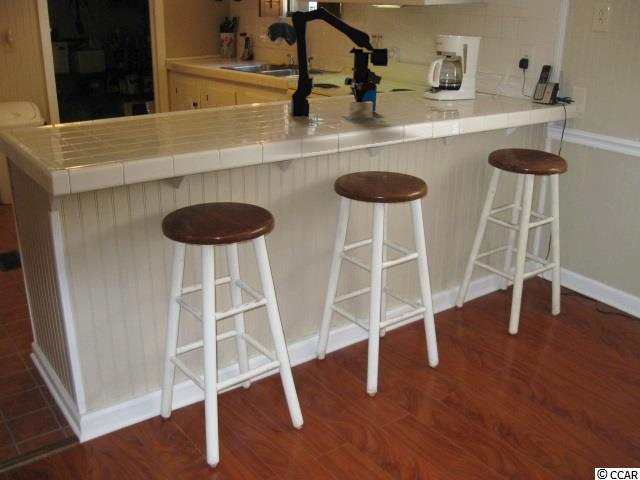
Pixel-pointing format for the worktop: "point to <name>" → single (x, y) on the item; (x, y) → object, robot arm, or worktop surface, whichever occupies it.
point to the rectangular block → (361, 109)
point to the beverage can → (370, 97)
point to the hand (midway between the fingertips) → (358, 105)
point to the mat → (363, 119)
